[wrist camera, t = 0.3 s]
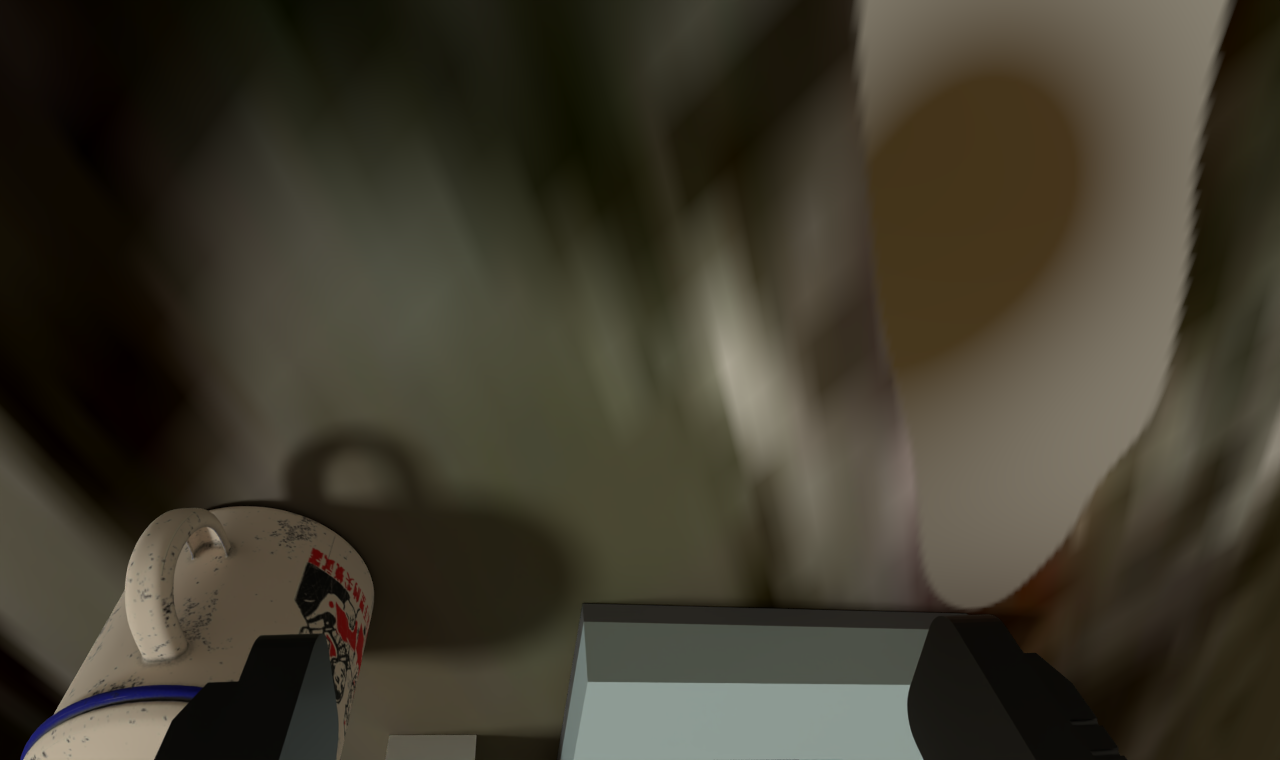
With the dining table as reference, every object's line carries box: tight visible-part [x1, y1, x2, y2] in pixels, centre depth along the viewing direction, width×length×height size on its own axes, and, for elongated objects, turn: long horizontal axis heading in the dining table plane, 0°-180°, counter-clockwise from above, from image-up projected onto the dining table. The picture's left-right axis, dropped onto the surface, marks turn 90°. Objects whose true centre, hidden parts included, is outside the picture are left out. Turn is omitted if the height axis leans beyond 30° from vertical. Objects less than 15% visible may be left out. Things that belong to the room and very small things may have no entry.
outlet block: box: [557, 604, 967, 760], centre depth 39 cm, size 16×18×4 cm
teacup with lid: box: [21, 506, 374, 760], centre depth 27 cm, size 12×9×12 cm
